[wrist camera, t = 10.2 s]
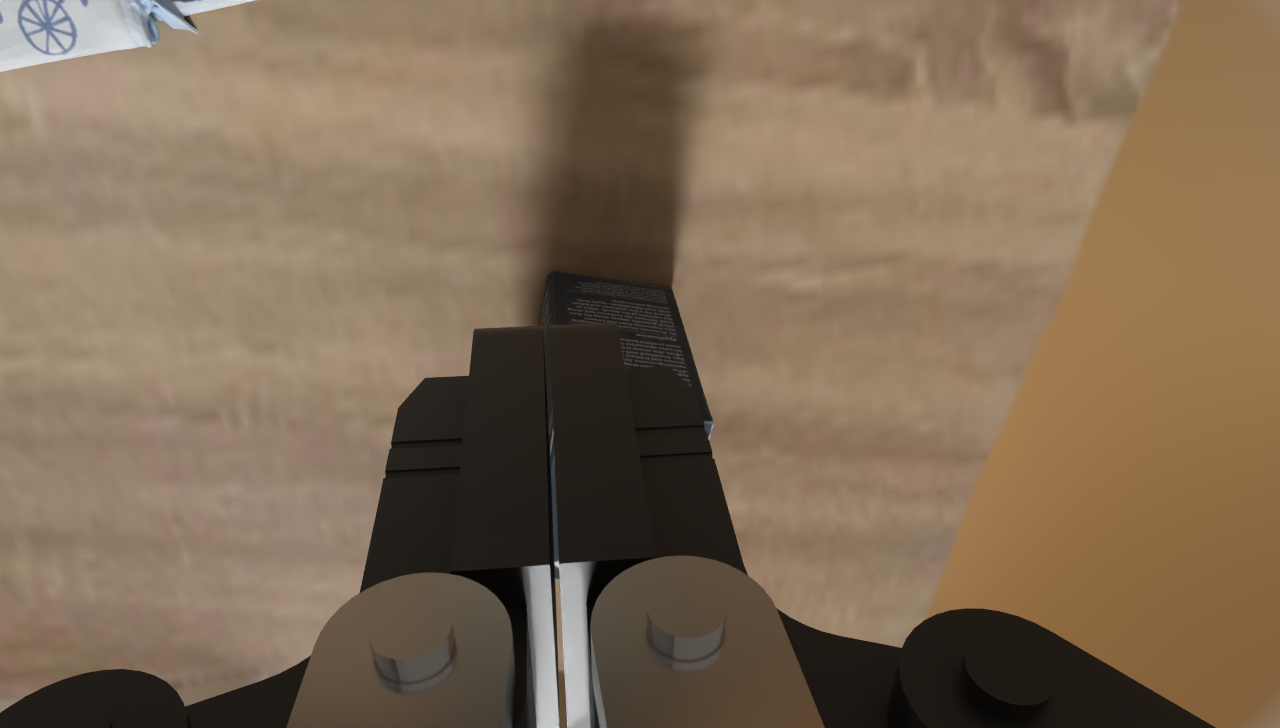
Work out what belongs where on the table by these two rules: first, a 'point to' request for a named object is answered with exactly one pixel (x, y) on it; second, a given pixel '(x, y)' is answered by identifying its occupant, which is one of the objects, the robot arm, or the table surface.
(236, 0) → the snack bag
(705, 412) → the box
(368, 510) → the table surface
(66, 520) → the table surface
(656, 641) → the robot arm
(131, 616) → the table surface
